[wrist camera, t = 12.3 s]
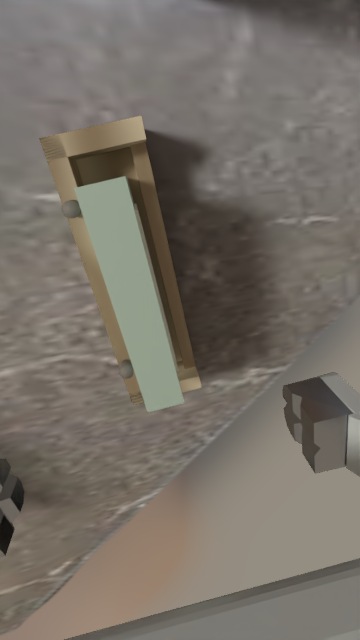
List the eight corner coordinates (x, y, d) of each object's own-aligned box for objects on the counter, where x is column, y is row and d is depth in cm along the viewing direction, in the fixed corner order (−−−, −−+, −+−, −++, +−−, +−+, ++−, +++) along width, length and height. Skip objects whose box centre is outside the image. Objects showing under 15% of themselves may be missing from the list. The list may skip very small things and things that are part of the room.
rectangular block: (129, 177, 22) (128, 175, 15) (172, 344, 28) (186, 402, 21) (92, 185, 22) (73, 188, 15) (143, 352, 28) (147, 412, 21)
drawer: (139, 127, 22) (141, 111, 17) (192, 360, 31) (204, 396, 26) (56, 146, 22) (33, 135, 17) (132, 375, 30) (133, 415, 25)
